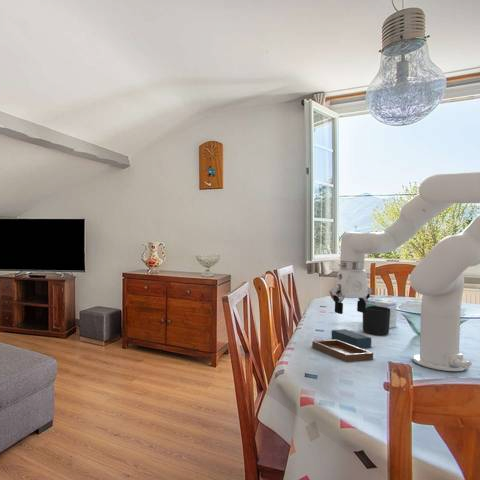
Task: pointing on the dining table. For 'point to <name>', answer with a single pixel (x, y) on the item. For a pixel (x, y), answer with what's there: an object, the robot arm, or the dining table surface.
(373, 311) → the pen holder
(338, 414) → the dining table surface
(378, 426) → the dining table surface
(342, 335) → the back pad
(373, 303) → the light bulb box
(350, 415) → the dining table surface
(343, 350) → the frame
